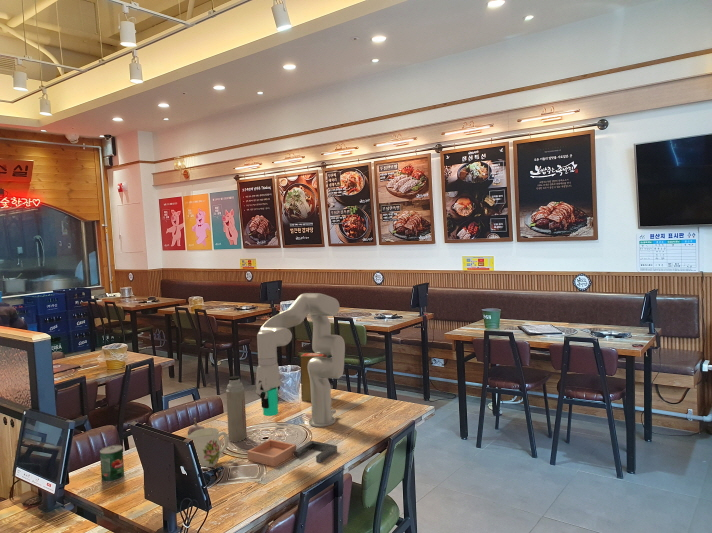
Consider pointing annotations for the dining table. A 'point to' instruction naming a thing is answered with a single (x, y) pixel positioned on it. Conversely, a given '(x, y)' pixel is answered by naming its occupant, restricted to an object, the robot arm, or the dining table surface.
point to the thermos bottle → (236, 409)
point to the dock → (326, 448)
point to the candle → (271, 403)
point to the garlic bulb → (194, 427)
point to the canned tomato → (112, 463)
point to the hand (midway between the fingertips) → (270, 405)
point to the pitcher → (208, 445)
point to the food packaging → (306, 374)
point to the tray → (271, 452)
